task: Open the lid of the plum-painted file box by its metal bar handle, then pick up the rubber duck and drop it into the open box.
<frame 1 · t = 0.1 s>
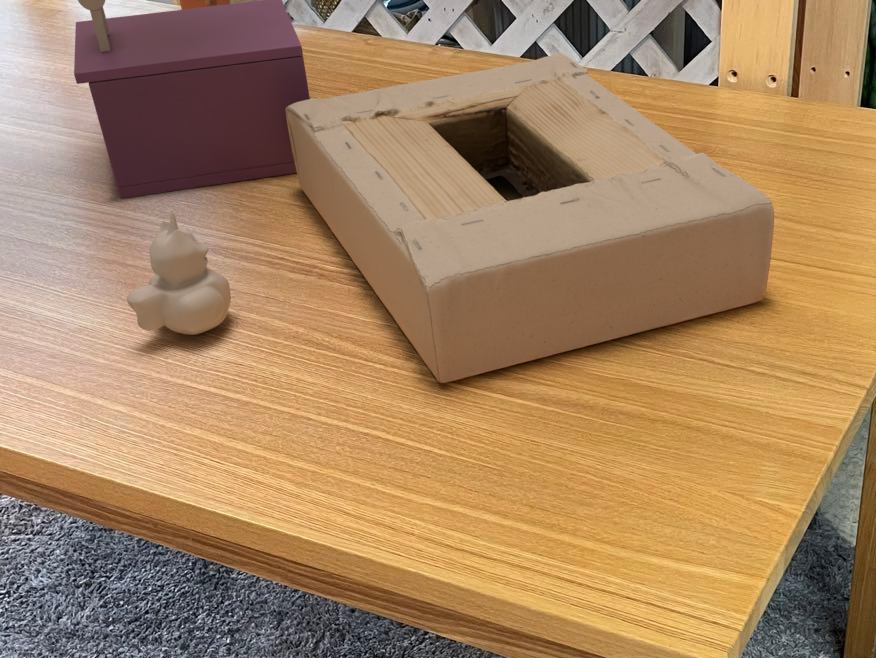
file box: (216, 153, 98), on the table
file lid: (178, 4, 90), point 12 cm above the table, hinge at 0.0°
rubber duck: (189, 333, 76), on the table
small box: (241, 69, 114), on the table
box: (510, 244, 84), on the table
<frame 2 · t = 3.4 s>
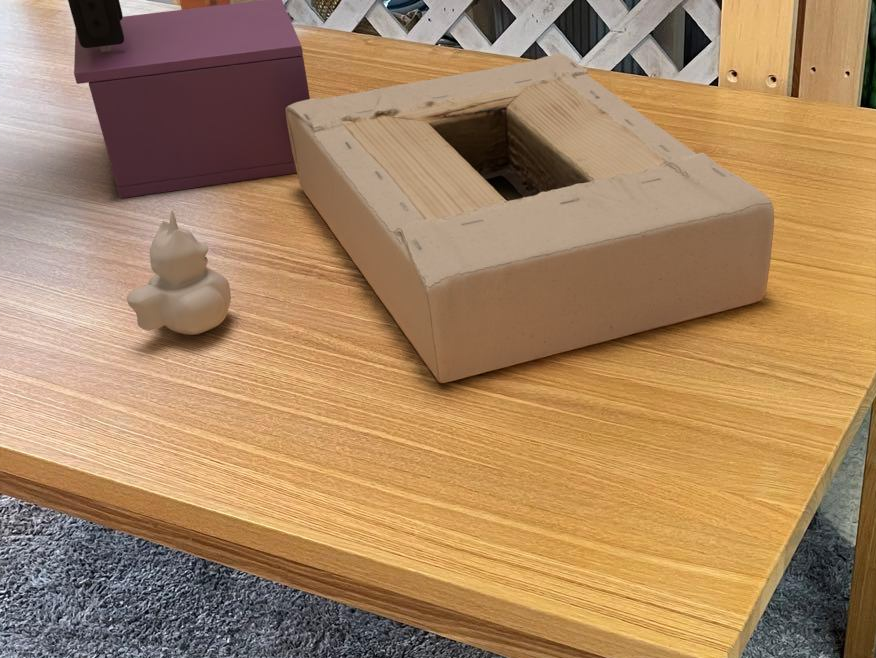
hand: (102, 30, 90), 11 cm above the table, tool pointing down, fingers closed on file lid, 5 cm apart
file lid: (178, 4, 90), point 12 cm above the table, hinge at 0.0°, touching gripper
everything else where it was.
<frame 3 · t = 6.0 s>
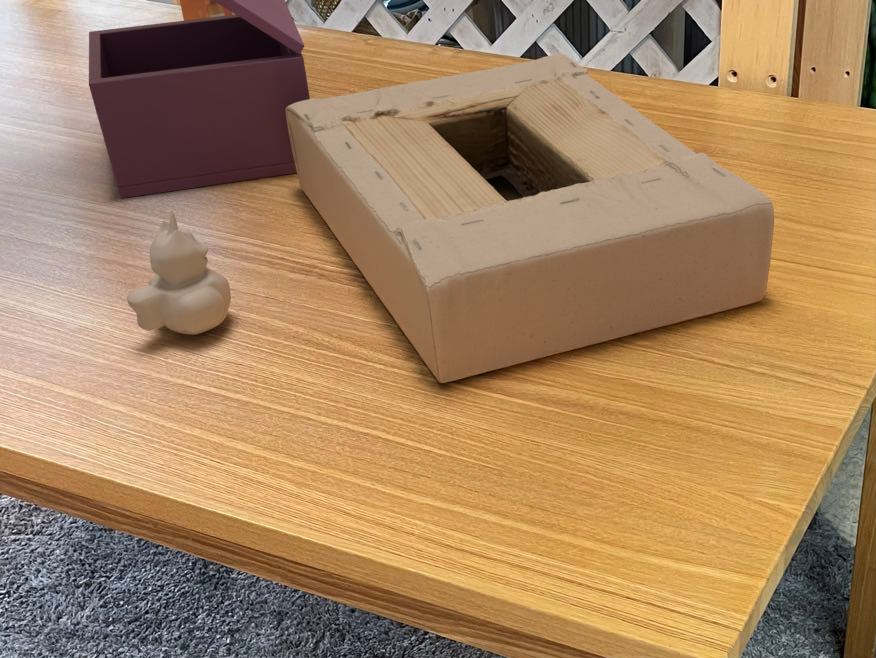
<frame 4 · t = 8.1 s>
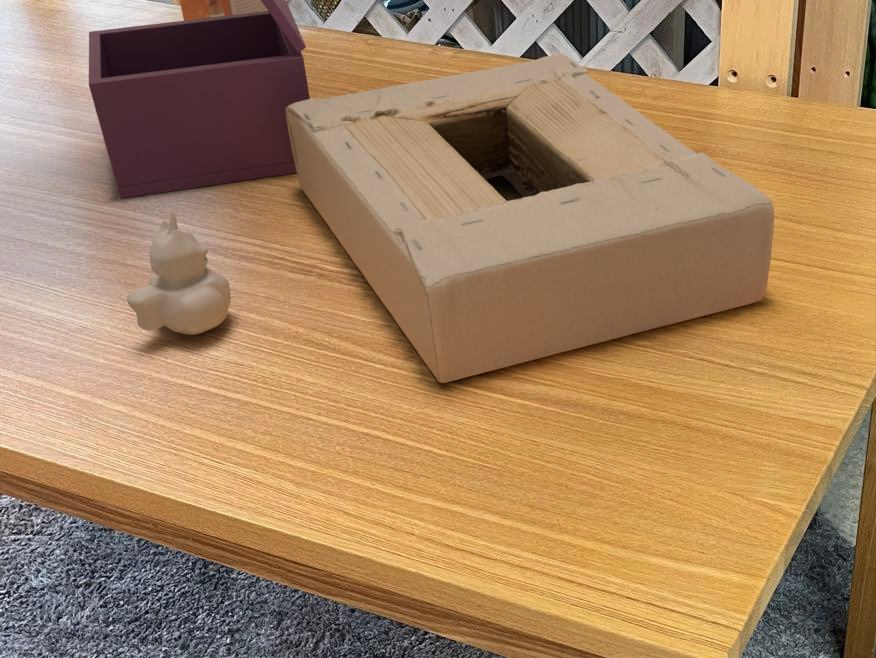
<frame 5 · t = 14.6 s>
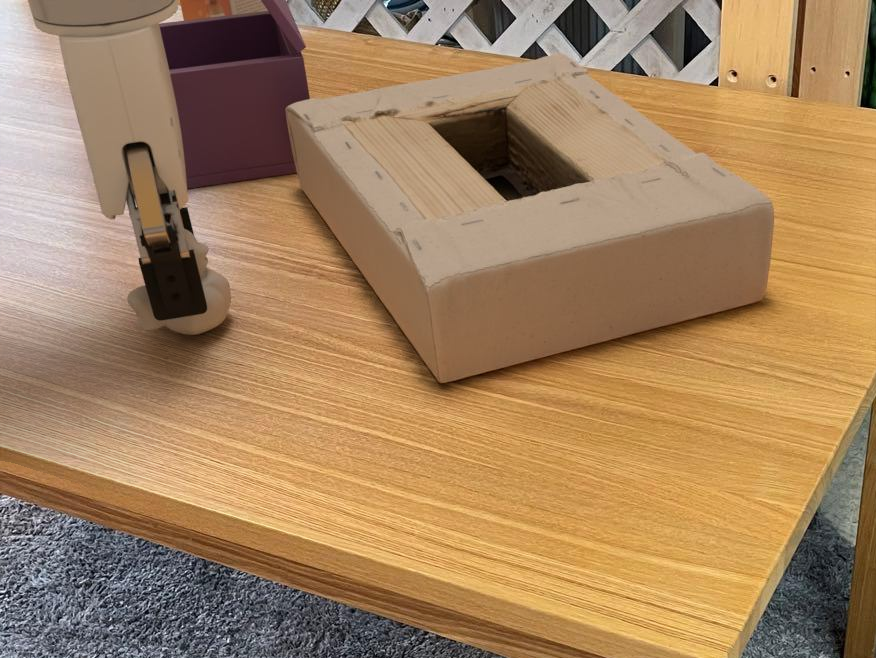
hand: (178, 289, 74), 3 cm above the table, tool pointing down, fingers closed on rubber duck, 5 cm apart
rubber duck: (189, 333, 76), on the table, touching gripper
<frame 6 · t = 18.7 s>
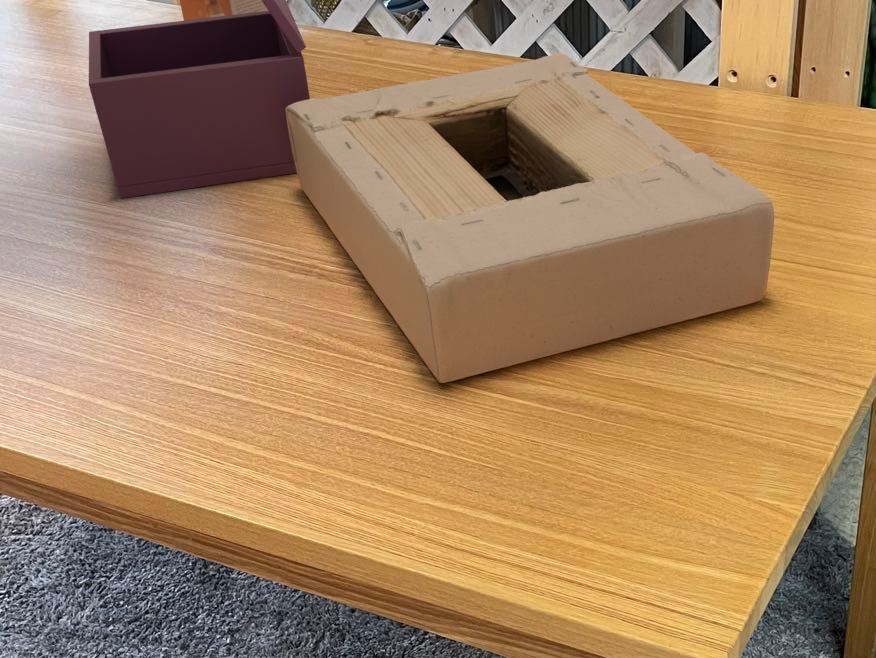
when the fingers open (10 cm above the table, at t = 22.2 s): rubber duck drops 6 cm, resting on file box.
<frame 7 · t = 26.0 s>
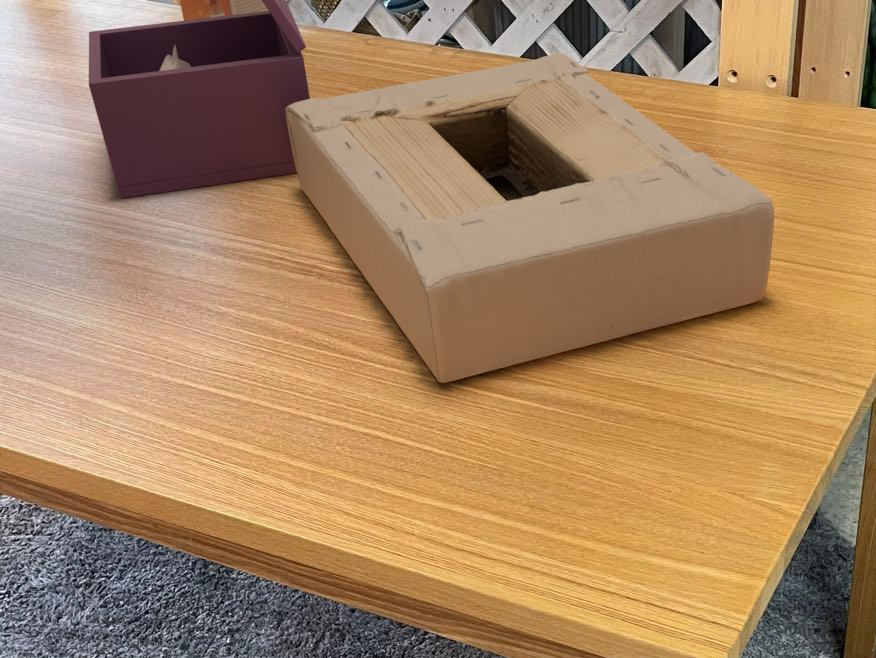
rubber duck: (188, 149, 97), point 1 cm above the table, touching file box
at the end: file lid at +64° (first picture: +0°); rubber duck inside the target area in the file box (2.1 cm from its centre), point 0.7 cm above the file box's base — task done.
